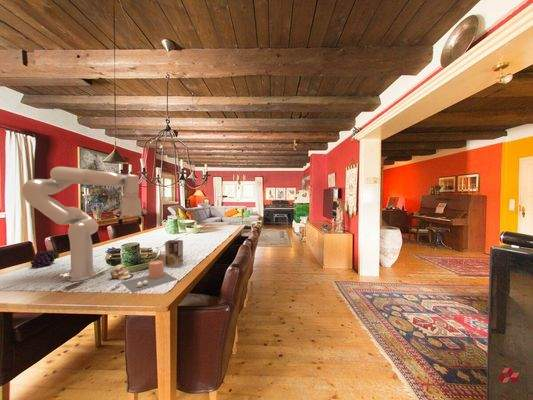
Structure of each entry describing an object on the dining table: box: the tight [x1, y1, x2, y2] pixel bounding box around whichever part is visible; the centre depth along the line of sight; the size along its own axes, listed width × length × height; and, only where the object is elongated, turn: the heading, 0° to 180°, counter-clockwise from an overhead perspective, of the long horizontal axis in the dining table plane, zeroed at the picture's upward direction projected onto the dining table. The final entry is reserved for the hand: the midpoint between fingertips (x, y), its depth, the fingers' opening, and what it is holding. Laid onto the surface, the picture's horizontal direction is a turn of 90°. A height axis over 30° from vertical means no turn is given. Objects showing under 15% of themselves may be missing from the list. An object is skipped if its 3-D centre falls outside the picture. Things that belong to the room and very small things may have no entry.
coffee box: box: [164, 239, 184, 268], centre depth 146 cm, size 9×6×16 cm
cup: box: [148, 259, 165, 279], centre depth 126 cm, size 7×7×8 cm
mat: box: [120, 271, 178, 294], centre depth 120 cm, size 22×18×1 cm
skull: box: [107, 264, 134, 282], centre depth 124 cm, size 12×10×10 cm
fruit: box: [29, 249, 60, 269], centre depth 144 cm, size 10×11×15 cm
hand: (130, 225), depth 131 cm, fingers open, 9 cm apart
